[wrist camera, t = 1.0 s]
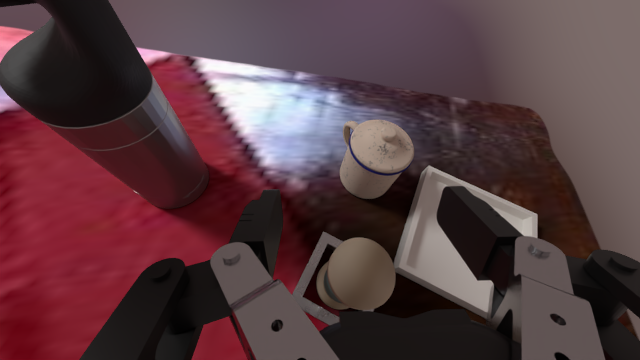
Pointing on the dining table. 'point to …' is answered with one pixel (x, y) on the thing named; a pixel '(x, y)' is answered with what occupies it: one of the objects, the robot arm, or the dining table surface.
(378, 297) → the spool
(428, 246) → the tray
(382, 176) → the teacup with lid
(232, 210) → the dining table surface
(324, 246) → the socket
